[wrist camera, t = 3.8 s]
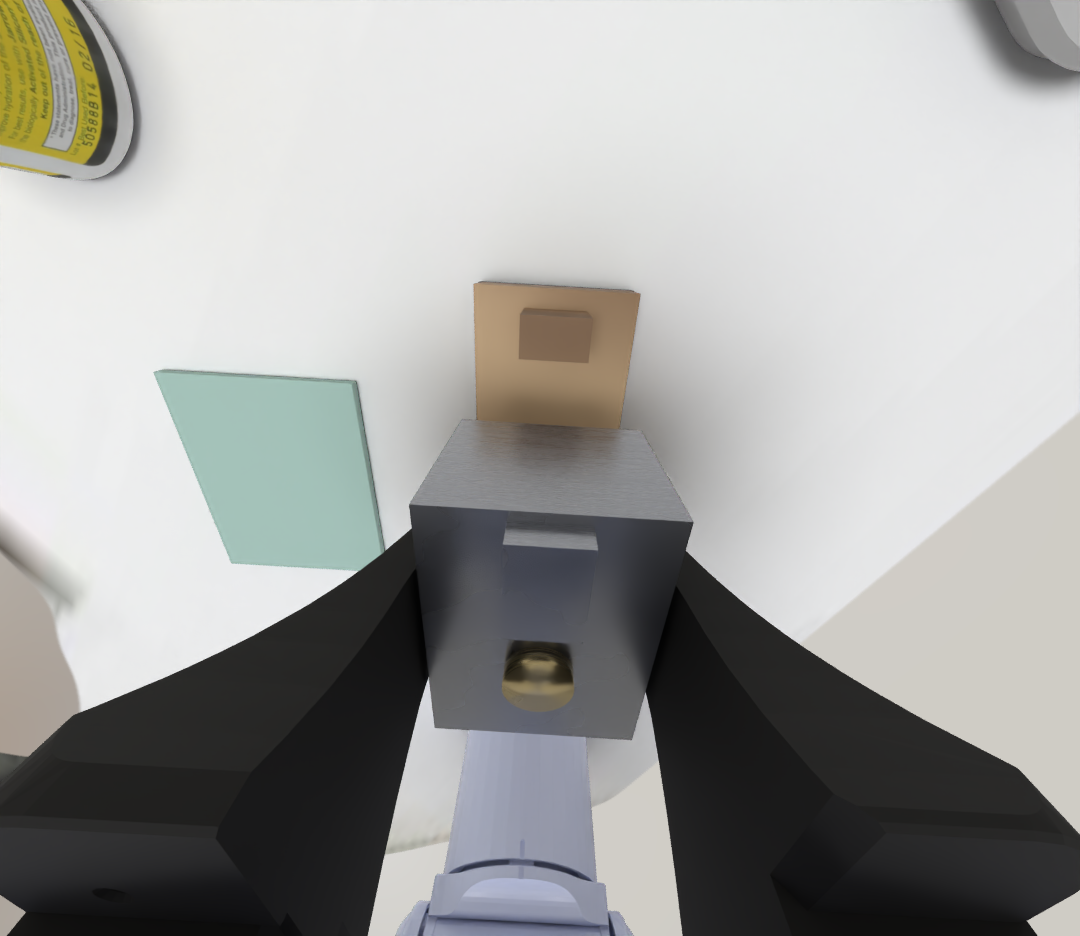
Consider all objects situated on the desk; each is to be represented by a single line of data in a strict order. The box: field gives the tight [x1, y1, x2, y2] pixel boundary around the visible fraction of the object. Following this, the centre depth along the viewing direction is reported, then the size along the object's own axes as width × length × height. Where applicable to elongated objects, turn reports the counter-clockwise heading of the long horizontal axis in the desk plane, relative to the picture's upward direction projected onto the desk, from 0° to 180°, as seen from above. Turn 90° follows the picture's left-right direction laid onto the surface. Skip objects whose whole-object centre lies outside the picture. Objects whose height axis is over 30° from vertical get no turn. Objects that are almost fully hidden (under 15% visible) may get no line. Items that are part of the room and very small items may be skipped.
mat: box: [154, 370, 384, 571], centre depth 18 cm, size 10×8×1 cm
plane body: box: [474, 281, 640, 429], centre depth 15 cm, size 14×6×4 cm, turn 177°
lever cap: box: [409, 419, 693, 740], centre depth 9 cm, size 6×4×5 cm
